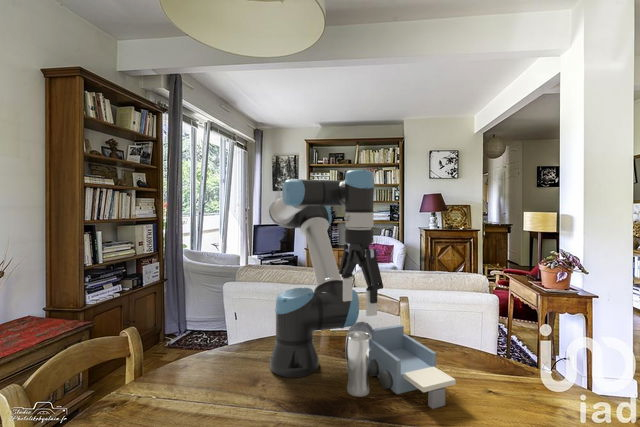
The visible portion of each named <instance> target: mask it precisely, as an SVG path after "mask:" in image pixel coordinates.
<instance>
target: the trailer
mask: <svg viewBox="0 0 640 427" xmlns="http://www.w3.org/2000/svg"><path fill="white" fill-rule="evenodd" d="M404 330H405V328H404V325H403V324H397V325H390V326H384V327H378V328H377V327H376V328H372V339H371V363H370V368H369V374H368V375H369V376H370V377H375V376H376V377H377V378H379V382H380V385H381V387H382V388H383V389H390V390H391V391H392V392H394V393H395V394H396V395H401V394H403V393H404V394H405V393H407V392H408V393H409V392H412V391H416V390H419V389H418V388H417V387H415V386H414V385H413V384H411V383H410V382H409V381H407V380H406V379H405V378H404V374H403V373H406V372H411V371H415V370H420V369H425V368H429V367H436V368H437V352H436V351H434V350H433V349H430V348H429V347H428V346H426V345H424V344H422V343H421V342H419V341H418V340H415V339H414V338H412V337H410V336H409V335H407V334H406V333H404V332H405V331H404ZM427 392H428V395H427V399H428V400H427V401H428V402H427V405H428V407H429V408H430V409H432V410H434V409H437V408H441V407H444V406H446V387H443V388H439V389H435V390H431V391H427Z"/></svg>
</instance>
